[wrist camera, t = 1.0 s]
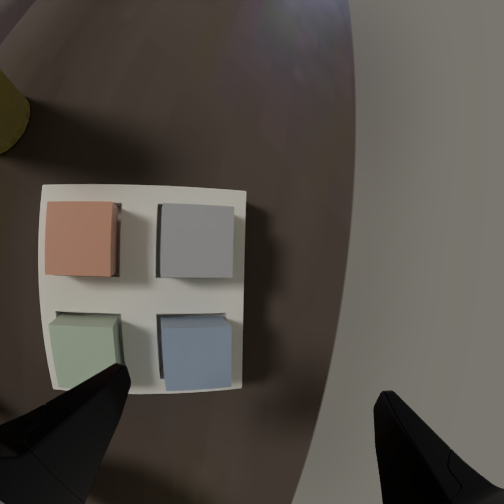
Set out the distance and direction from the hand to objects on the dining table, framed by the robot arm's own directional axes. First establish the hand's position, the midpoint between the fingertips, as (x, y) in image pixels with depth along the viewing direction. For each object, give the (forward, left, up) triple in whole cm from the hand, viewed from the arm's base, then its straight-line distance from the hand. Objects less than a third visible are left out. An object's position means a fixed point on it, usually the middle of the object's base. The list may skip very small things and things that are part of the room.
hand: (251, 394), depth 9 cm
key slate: (0, -2, -12) cm, 12 cm away
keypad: (-4, +1, -15) cm, 15 cm away
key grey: (0, +5, -12) cm, 13 cm away
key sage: (-8, -2, -12) cm, 15 cm away
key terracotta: (-8, +5, -12) cm, 15 cm away
